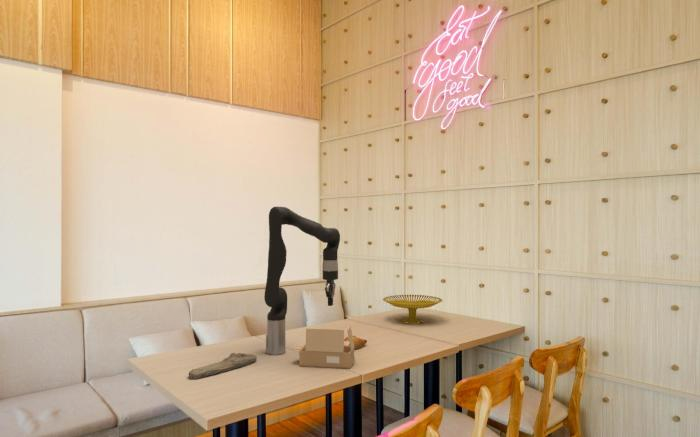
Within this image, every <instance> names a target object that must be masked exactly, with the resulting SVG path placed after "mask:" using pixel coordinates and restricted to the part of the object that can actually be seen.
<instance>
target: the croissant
mask: <svg viewBox="0 0 700 437" xmlns="http://www.w3.org/2000/svg"><path fill="white" fill-rule="evenodd" d="M352 336H353V342H354V351H355V350H358V349H360V348H363V347H364V346H365V345H366V344H367V343H368V340H367V339H363V338H359V337H357V336H356V335H352ZM344 341H349V337H348V336H346V337H344ZM349 346H350V344H349Z"/></svg>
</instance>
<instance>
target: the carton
mask: <svg viewBox="0 0 700 437" xmlns="http://www.w3.org/2000/svg"><path fill="white" fill-rule="evenodd" d="M349 344H350V343H349V341H344V352H322V351H305V346H306V344H305V345H304V344H296V345H295V346H294V347H293V348H292V350H294V351H299V360H298V362H299V364H298V366H299V367H305V368H307V367H309V368H326V369H327V368H329V369H334V368H335V369H349V370H350V369H351V368H352V367H353V364H354V362H355V350H354V348H353V350H352V351H351V348H350V346H349Z"/></svg>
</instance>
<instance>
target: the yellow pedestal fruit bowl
mask: <svg viewBox="0 0 700 437" xmlns="http://www.w3.org/2000/svg"><path fill="white" fill-rule="evenodd" d="M382 300H383V301H384V302H385V303H387V304H389V305H391V306H393V307H396V308H401V309H407V311H408V317H406V318H403V320H401V322H402V321H403V322H402V323H404V322H408V323H407V324H410V323H417V324H419V323H418V322H422V321H423V320H422V319H421V318H419V317H417V310H418V309H425V308H426V309H427V308H431V307H434V306H435V305H438V304H439V303H441V302H443V299H442V298H440V297H437V296H431V295H425V294H424V295H421V294H398V295H389V296H385V297H383V298H382ZM422 323H423V322H422Z"/></svg>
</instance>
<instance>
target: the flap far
mask: <svg viewBox="0 0 700 437" xmlns="http://www.w3.org/2000/svg"><path fill="white" fill-rule="evenodd" d="M347 335H348V336H347V337H349V343H350V348H351V351H352V350H353V348H354V342H353V336H354V335H353V330H352V326H351V325H349V326H348V328H347Z"/></svg>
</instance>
